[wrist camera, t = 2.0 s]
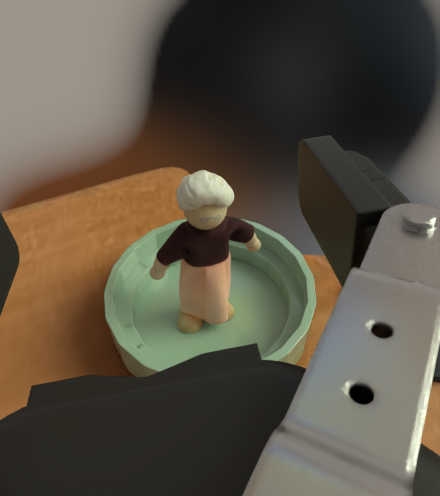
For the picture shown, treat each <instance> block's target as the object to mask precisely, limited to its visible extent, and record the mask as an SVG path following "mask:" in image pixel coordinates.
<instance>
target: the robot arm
mask: <svg viewBox="0 0 440 496" xmlns="http://www.w3.org/2000/svg"><path fill="white" fill-rule="evenodd" d="M298 179H299V181H298V185H299V186H298V189H299V190H298V195H299V203H300V208H301V211H302V214H303V216H304V218H305V219H306V221H307V223H308V225H309V227H310V229H311V231H312V232H313V234H314V236H315V238H316V240H317V242H318V243H319V245H320V247H321V249H322V251H323V253H324V254H325V256H326V258H327V260H328V262H329V264H330V265H331V267H332V269H333V271H334V273H335V274H336V276H337V278H338V280H339V282H340V284H341V285H342V287H343V288H342V291H341V293H340V295H339V297H338V300H337V302H336V304H335V306H334V309H333V311H332V313H331V315H330V318H329V320H328V322H327V324H326V326H325V329H324V331H323V333H322V335H321V338H320V340H319V342H318V344H317V347H316V349H315V351H314V353H313V356H312V358H311V360H310V362H309V365H308V367H307V369H305V368H303V367H300V366H298V365H294V364H290V363H286V362H281V361H274V360H262V359H261V355H260V352H259V348H258V344H257V343H255V344H249V345H244V346H239V347H234V348H228V349H223V350H218V351H213V352H207V353H202V354H200V355H198V356H195V357H193V358H191V359H188V360H186V361H183V362H181V363H179V364H176V365H174V366H172V367H169V368H167V369H165V370H162V371H160V372H157V373H155V374H153V375H150V376H146V377H122V376H96V375H86V376H81V377H76V378H71V379H65V380H60V381H55V382H50V383H44V384H39V385H34V386H31V391H30V395H29V399H28V403H27V406H26V407H23V408H21V409H19V410H17V411H15V412H13V413H12V414H10V415H8V416H6V417H5V418H3V419H1V420H0V496H440V456H439V455H438V454H436V453H435V452H433V451H432V450H430V449H429V448H427V447H426V446H424V445H423V444H421V438H422V432H423V427H424V422H425V417H426V412H427V406H428V401H429V396H430V391H431V385H432V380H433V375H434V370H435V364H436V359H437V354H438V349H439V344H440V208H438V207H435V206H431V205H427V204H420V203H411V202H410V201H409V200H408V199H407V198H406V197H405V196H404V195H403V194H402V193H401V192H400V191H399V190H398V189H397V188H396V187H395V185H394V184H393V183H392V182H391V181H390V180H389V179H386V176H385V175H384V174H383V173H382V172H381V171H380V170H378V168H377V167H376V166H375V165H374V164H373V162H371V160H370V159H369V158H367V157H365V156H363V155H361V154H358V153H356V152H354V151H346V152H345V151H344V150H343V149H342V148H341V147H340V146H339V145H338V144H337V142H336V141H335V140H334V139H333V138H332V137H331V136H323V137H317V138H311V139H305V140H301V141H300V144H299V178H298ZM18 265H19V250H18V246H17V244H16V241H15V239H14V237H13V236H12V234H11V232H10V230H9V228H8V226H7V224H6V222H5V220H4V219H3V217H2V215H1V213H0V315H1V312H2V309H3V307H4V304H5V301H6V298H7V296H8V293H9V290H10V287H11V285H12V282H13V279H14V276H15V274H16V271H17V268H18Z"/></svg>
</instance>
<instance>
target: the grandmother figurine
mask: <svg viewBox="0 0 440 496" xmlns="http://www.w3.org/2000/svg"><path fill="white" fill-rule="evenodd" d="M176 194H177V201H178V205H179V208H180V209H181V210H183V211H184V215H185V217H186V219H187V221H185V222H183V223H181V224H180V225H179V226H178V227H177V228H176V229H175V230H174V231H173V233H172V234H171V235H170V236H169V238H168V239H167V240H166V242H165V243H164V244H163V245H162V247H161V248H160V249H159V250H158V252H157V254H156V258H155V260H154V263H153V266H152V267H151V269H150V276H151V277H152V278H153V279H155V280H160V279H162V278H163V277H164V275H165V271H166V270H167V269H168V268H169V266H170V264H172V263H174V262H176V261H179V260H181V268H180V278H179V298H180V309H179V314H178V320H177V326H178V328H179V330H180V331H182V332H184V333H195V332H197V331H199V330H200V329H201V328H202V327H203V324H204V320H205V321H206V322H207V323H209V324H212V325H219V324H223V323H225V322H226V321H229V320H230V319H232V318H233V316H234V314H235V311H234V308H233V306H232V305H231V304H230V303H229V301H228V298H229V294H230V281H231V269H230V266H231V255H230V251H229V240H230V241H234V242H239V243H244V244H245V245H246V248H247V249H248V250H249V251H251V252H256V251H258V250H259V249H260V246H261V243H260V241H259V239H257V236H256V234H255V233H254V232H255V228H254V226H253V225H251V224H249V223H247V222H245V221H243V220H241V219H239V218H235V217H227V216H225V215H226V211H227V207H229V206H230V204H231V203H232V202H233V200H234V193H233V191H232V189H231V188H230V186H229V185H228V184H227V183H226V182H225V180H224V179H223V178H222V177H220V176H217V175H216V174H213V173H210V172H207V171H206V170H203V171H198V172H196V173H194V174H193V175H188V176H186V177H184V178H183V179H182V181H181V184H180V185H179V187H178V188H177V191H176ZM203 319H204V320H203Z"/></svg>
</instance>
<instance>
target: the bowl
mask: <svg viewBox="0 0 440 496" xmlns="http://www.w3.org/2000/svg"><path fill="white" fill-rule="evenodd" d="M241 220H243V219H241ZM185 221H187V219H182V220H177V221H174V222H172V223H169V224H167V225H164V226H162V227H159V228H157V229H154V230H152V231H150V232H149V233H147V234H146V235H144V236H143V237H142V238H140V239H139V240H137V241H136V242H135V243H133V244H132V245H130V246H129V247H128V248H127V250H126V251H125V252H124V253H123V255H122V256H121V257H120V258H119V260H118V261H117V262H116V263H115V265H114V266H113V268H112V270H111V273H110V276H109V279H108V282H107V285H106V288H105V290H104V302H105V318H106V321H107V324H108V327H109V330H110V332H111V335H112V338H113V341H114V344H115V346H116V348H117V350H118V352H119V354H120V356H121V358H122V360H123V362H124V364H125V366H126V368H127V369H128V371H129V372H130V373H132V374H133V375H134V376H135V377H146V376H150V375H153V374H155V373H157V372H160V371H162V370H165V369H167V368H169V367H172V366H174V365H176V364H179V363H181V362H183V361H186V360H188V359H191V358H193V357H195V356H198V355H200V354H202V353H207V352H213V351H218V350H223V349H228V348H234V347H239V346H244V345H249V344H255V343H257V344H258V348H259V352H260V355H261V359H262V360H274V361H281V362H286V363H290V364H294V365H295V364H296V363H297V362H298V361H299V359H300V358H301V357H302V355H303V351H304V348H305V345H306V342H307V338H308V335H309V332H310V328H311V324H312V320H313V316H314V312H315V308H316V303H317V302H316V292H315V283H314V277H313V275H312V273H311V271H310V269H309V267H308V265H307V263H306V261H305V259H304V258H303V256H302V254H301V253H300V252H299V251H298V250H297V249H296V248H295V247H294V246H293V245H292V244H291V243H290V242H288V241H287V240H286V239H285V238H284V237H283V236H281V235H279V234H277V233H275V232H274V231H272V230H270V229H268V228H266V227H264V226H262V225H260V224H258V223H254V222H250V221H246V220H243V221H245V222H247V223H249V224H251V225H253V226H254V228H255V232H254V233H255V234H256V236H257V239H259V241H260V243H261V246H260V249H259V250H258V251H256V252H251V251H249V250H248V249H247V248H246V245H245V244H244V243H239V242H234V241H230V240H229V251H230V255H231V266H230V269H231V281H230V294H229V298H228V301H229V303H230V304H231V305H232V306H233V308H234V311H235V314H234V316H233V318H232V319H230V320H229V321H226V322H225V323H223V324H219V325H212V324H209V323H207V322H206V321H205V320H204V319H203V320H204V324H203V327H202V328H201V329H200V330H199V331H197V332H195V333H184V332H182V331H180V330H179V328H178V326H177V320H178V314H179V309H180V298H179V278H180V268H181V260H179V261H176V262H174V263H172V264H170V266H169V268H168V269H167V270H166V271H165V275H164V277H163V278H162V279H160V280H155V279H153V278H152V277H151V276H150V269H151V267H152V266H153V263H154V260H155V258H156V254H157V252H158V250H159V249H160V248H161V247H162V245H163V244H164V243H165V242H166V240H167V239H168V238H169V236H170V235H171V234H172V233H173V231H174V230H175V229H176V228H177V227H178V226H179V225H180V224H181V223H183V222H185Z"/></svg>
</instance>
